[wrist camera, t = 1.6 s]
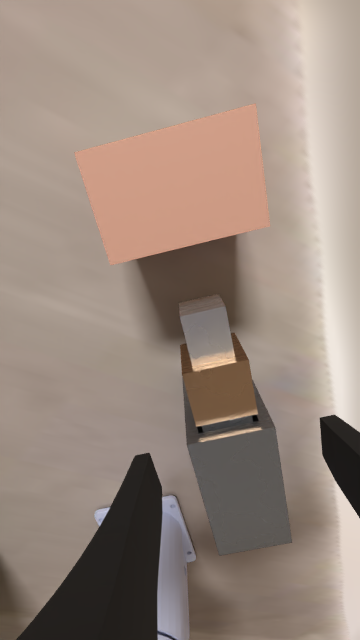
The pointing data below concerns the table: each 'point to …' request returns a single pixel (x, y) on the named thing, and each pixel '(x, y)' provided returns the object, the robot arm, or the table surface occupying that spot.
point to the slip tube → (215, 366)
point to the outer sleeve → (240, 481)
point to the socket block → (177, 185)
